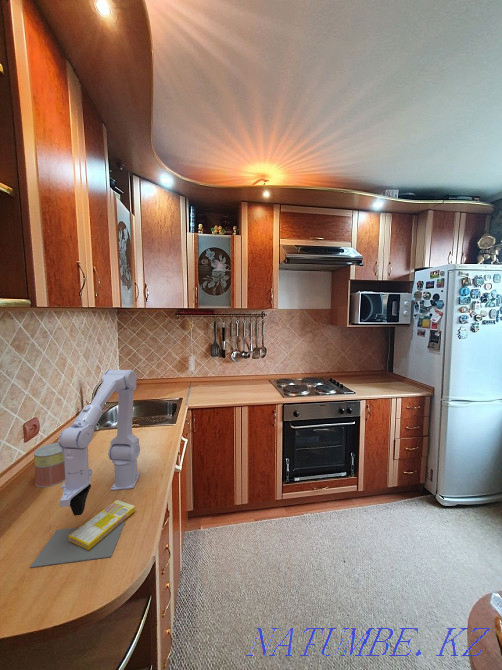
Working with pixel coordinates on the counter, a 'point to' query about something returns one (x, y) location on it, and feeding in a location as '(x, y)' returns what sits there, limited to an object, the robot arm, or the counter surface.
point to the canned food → (49, 465)
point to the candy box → (101, 524)
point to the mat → (75, 548)
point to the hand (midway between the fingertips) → (78, 513)
